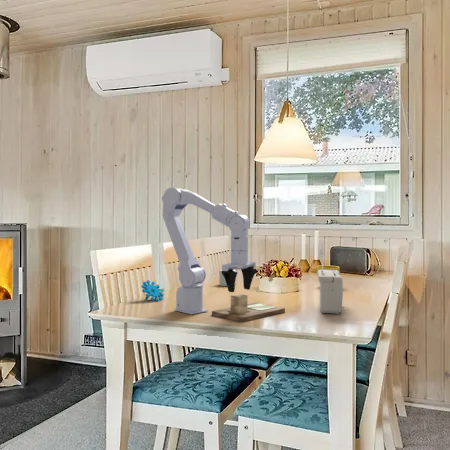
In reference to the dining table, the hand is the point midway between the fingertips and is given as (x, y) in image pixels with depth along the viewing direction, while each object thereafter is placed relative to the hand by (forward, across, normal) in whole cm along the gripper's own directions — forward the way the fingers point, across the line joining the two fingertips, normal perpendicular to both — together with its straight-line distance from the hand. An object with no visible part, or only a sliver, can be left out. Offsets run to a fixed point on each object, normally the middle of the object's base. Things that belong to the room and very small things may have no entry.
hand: (239, 290), depth 165 cm
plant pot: (+9, +74, +14) cm, 76 cm away
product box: (+9, +44, +50) cm, 67 cm away
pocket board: (+9, +5, 0) cm, 10 cm away
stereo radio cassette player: (+9, +33, -14) cm, 37 cm away
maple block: (+9, 0, 0) cm, 9 cm away
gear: (+9, -4, +43) cm, 44 cm away
